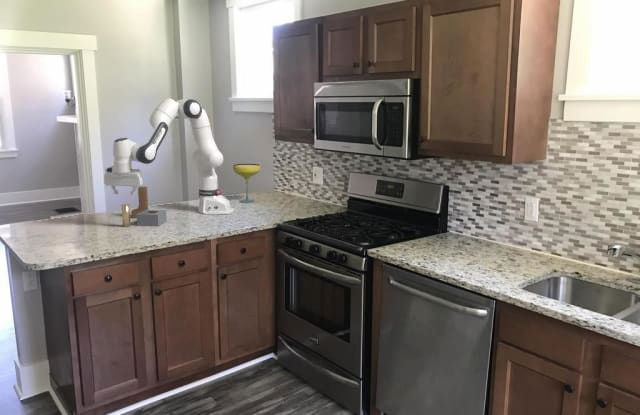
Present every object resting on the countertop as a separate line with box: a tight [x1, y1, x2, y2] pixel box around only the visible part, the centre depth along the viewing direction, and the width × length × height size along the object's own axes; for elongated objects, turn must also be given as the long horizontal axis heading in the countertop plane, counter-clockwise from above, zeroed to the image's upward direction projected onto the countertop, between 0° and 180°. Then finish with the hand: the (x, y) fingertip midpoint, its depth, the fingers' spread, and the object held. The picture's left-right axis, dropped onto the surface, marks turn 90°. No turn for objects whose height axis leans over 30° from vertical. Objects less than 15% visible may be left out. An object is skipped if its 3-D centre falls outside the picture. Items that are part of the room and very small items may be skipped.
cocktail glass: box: [232, 163, 261, 204], centre depth 356 cm, size 18×18×25 cm
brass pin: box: [121, 203, 132, 228], centre depth 284 cm, size 4×4×12 cm
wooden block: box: [130, 186, 149, 219], centre depth 305 cm, size 9×4×18 cm, turn 99°
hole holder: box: [136, 209, 167, 227], centre depth 291 cm, size 12×12×6 cm
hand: (124, 194), depth 281 cm, fingers open, 8 cm apart
